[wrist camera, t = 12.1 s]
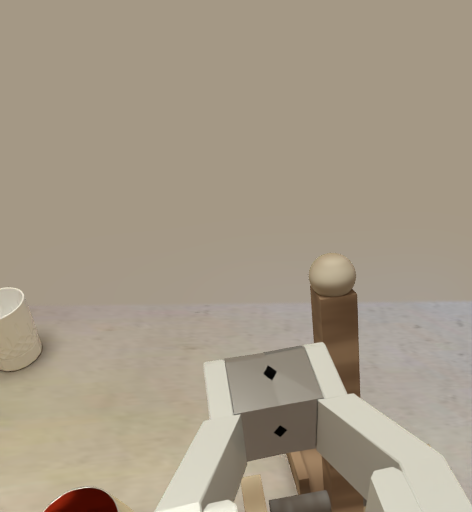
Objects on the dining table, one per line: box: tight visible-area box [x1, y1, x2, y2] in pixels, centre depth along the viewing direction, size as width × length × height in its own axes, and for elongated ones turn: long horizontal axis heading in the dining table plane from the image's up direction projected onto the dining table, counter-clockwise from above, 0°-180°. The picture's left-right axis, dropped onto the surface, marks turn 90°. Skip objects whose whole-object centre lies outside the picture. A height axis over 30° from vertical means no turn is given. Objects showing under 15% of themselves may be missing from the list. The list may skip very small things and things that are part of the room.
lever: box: [269, 253, 367, 512], centre depth 37 cm, size 14×12×22 cm
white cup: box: [0, 288, 42, 371], centre depth 64 cm, size 8×8×10 cm
